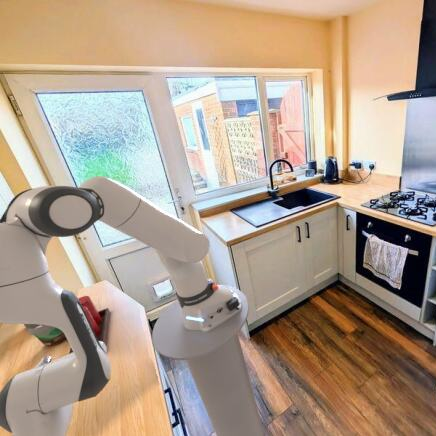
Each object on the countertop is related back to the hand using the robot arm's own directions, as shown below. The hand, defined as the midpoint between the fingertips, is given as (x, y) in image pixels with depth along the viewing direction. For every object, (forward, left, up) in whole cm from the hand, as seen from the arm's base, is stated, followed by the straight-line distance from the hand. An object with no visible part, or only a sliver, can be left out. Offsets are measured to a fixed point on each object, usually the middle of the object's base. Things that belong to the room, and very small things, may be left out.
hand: (67, 349), depth 74 cm
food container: (+10, -26, -13) cm, 31 cm away
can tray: (0, -19, -13) cm, 23 cm away
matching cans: (0, -22, -12) cm, 25 cm away
